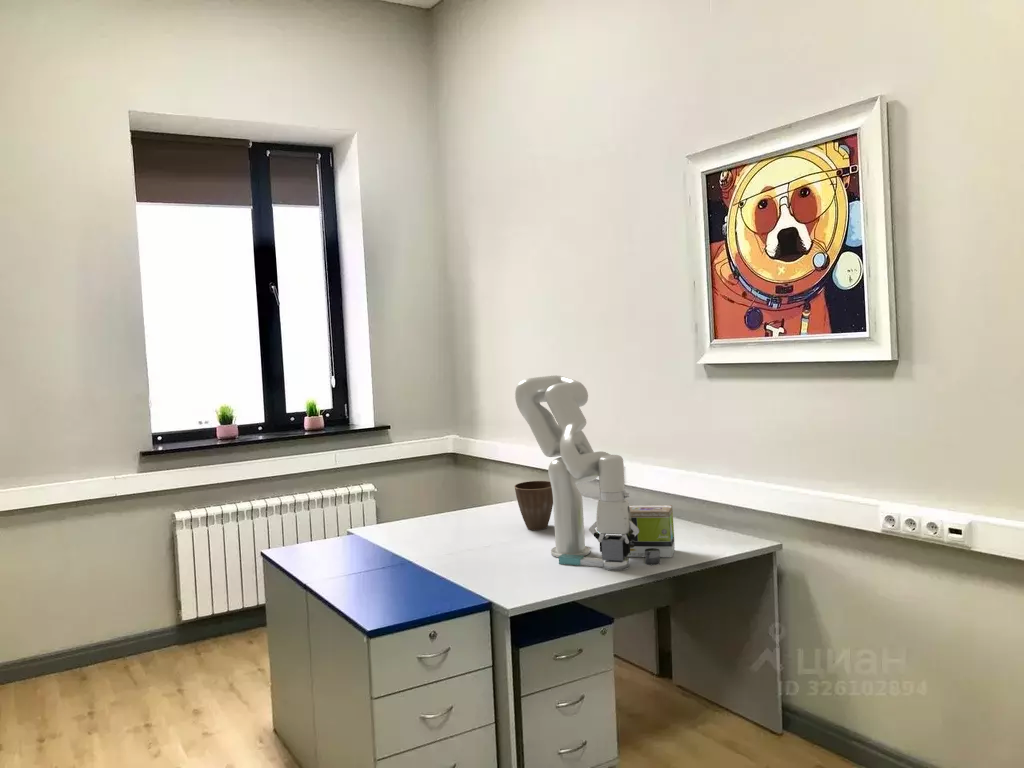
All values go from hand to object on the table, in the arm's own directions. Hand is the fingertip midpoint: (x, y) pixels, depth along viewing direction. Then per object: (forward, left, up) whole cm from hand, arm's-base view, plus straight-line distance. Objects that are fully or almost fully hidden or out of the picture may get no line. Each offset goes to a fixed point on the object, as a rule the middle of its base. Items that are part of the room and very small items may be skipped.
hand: (615, 554), depth 253 cm
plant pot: (-42, -40, -4) cm, 58 cm away
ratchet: (-1, -7, -4) cm, 8 cm away
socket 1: (0, 0, -1) cm, 1 cm away
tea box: (-16, +7, -4) cm, 18 cm away
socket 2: (-6, +10, -4) cm, 12 cm away
